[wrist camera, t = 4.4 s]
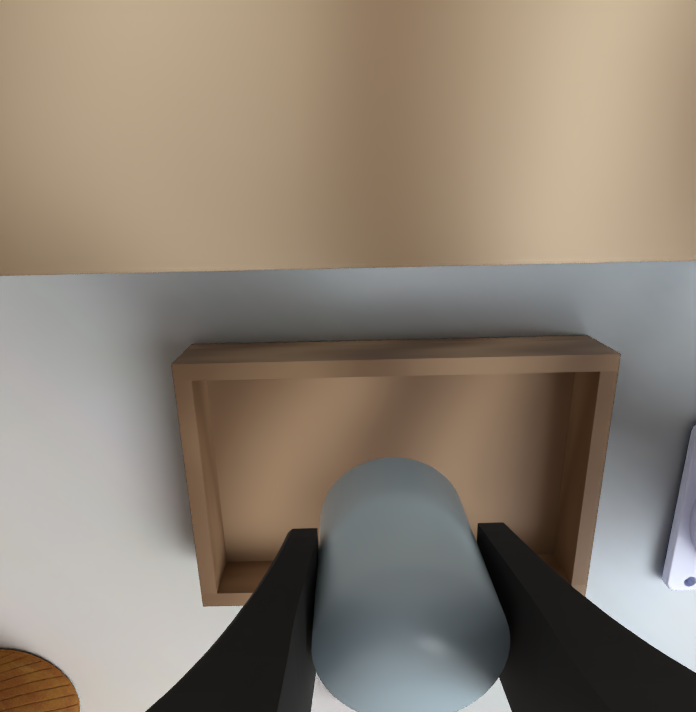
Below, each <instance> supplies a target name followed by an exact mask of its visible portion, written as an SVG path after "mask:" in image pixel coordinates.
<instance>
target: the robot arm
mask: <svg viewBox="0 0 696 712" xmlns="http://www.w3.org/2000/svg"><path fill="white" fill-rule="evenodd" d="M477 544H478V547H479V549H480V552H481V555H482V557H483V560H484V562H485V565H486V568H487V570H488V573H489V575H490V578H491V580H492V583H493V586H494V588H495V591H496V593H497V596H498V599H499V601H500V604H501V606H502V609H503V611H504V614H505V617H506V620H507V623H508V626H509V632H510V649H509V655H508V658H507V661H506V664H505V667H504V669H503V671H502V672H501V674H500V676H499V678H500V681H501V683H502V686H503V689H504V691H505V694H506V697H507V699H508V702H509V705H510V708H511V710H512V712H696V673H695V672H693V671H692V670H690V669H688V668H687V667H685V666H683V665H682V664H680V663H678V662H677V661H675V660H673V659H672V658H670V657H668V656H667V655H665V654H664V653H662V652H661V651H659V650H657V649H656V648H654V647H653V646H651V645H650V644H648V643H647V642H645V641H644V640H642V639H641V638H639V637H638V636H637V635H635V634H634V633H632V632H631V631H629V630H628V629H627V628H625V627H624V626H622V625H621V624H619V623H618V622H617V621H615V620H614V619H613V618H611V617H610V616H609V615H607V614H606V613H605V612H603V611H602V610H601V609H599V608H598V607H597V606H596V605H594V604H593V603H592V602H591V601H589V600H588V599H587V598H586V597H585V596H583V595H582V594H581V593H580V592H578V591H577V590H576V589H575V588H574V587H572V586H571V585H570V584H569V583H568V582H567V581H565V580H564V579H563V578H562V577H561V576H560V575H559V574H558V573H556V572H555V571H554V570H553V569H552V568H551V567H550V566H549V565H548V564H546V563H545V562H544V561H543V560H542V559H541V558H540V557H539V556H538V555H537V554H536V553H535V552H534V551H533V550H532V549H531V548H529V547H528V546H527V545H526V544H525V543H524V542H523V541H522V540H521V539H520V538H519V537H518V536H517V535H516V534H515V533H514V532H513V531H512V530H511V529H510V528H509V527H508V526H507V525H506V524H504V523H503V522H497V523H478V526H477ZM318 550H319V549H318V530H317V528H300V529H291V530H290V531H289V532H288V533H287V536H286V538H285V540H284V542H283V544H282V546H281V548H280V550H279V552H278V553H277V555H276V557H275V559H274V560H273V562H272V564H271V566H270V567H269V569H268V570H267V572H266V574H265V575H264V577H263V578H262V580H261V581H260V583H259V585H258V586H257V588H256V589H255V591H254V592H253V594H252V595H251V597H250V598H249V599H248V601H247V602H246V603H245V605H244V606H243V608H242V609H241V610H240V612H239V613H238V614H237V616H236V617H235V619H234V620H233V621H232V622H231V624H230V625H229V626H228V627H227V629H226V630H225V631H224V632H223V634H222V635H221V636H220V637H219V638H218V640H217V641H216V642H215V643H214V644H213V645H212V646H211V648H210V649H209V650H208V651H207V652H206V653H205V654H204V656H203V657H202V658H201V659H200V660H199V661H198V662H197V663H196V664H195V665H194V666H193V667H192V668H191V669H190V670H189V671H188V672H187V673H186V674H185V675H184V676H183V677H182V678H181V679H180V680H179V681H178V682H177V683H176V684H175V685H174V686H173V687H172V688H171V689H170V690H169V691H168V692H167V693H166V694H165V695H164V696H163V697H161V698H160V699H159V700H158V701H157V702H156V703H155V704H153V705H152V706H151V707H150V708H149V709H148V710H147V711H146V712H311V705H312V698H313V690H314V682H315V675H316V670H315V666H314V663H313V658H312V651H311V650H312V631H313V617H314V603H315V588H316V579H317V564H318ZM688 577H689V578H688ZM686 578H688V579H686ZM685 579H686V580H685ZM662 580H663V582H664V583H665V584H666V586H667V587H668V588H669V589H671V590H696V425H695V426H694V427H693V429H692V431H691V435H690V440H689V445H688V450H687V455H686V460H685V465H684V470H683V475H682V480H681V485H680V490H679V495H678V500H677V505H676V510H675V515H674V520H673V525H672V530H671V535H670V540H669V545H668V550H667V555H666V560H665V565H664V570H663V575H662Z"/></svg>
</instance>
